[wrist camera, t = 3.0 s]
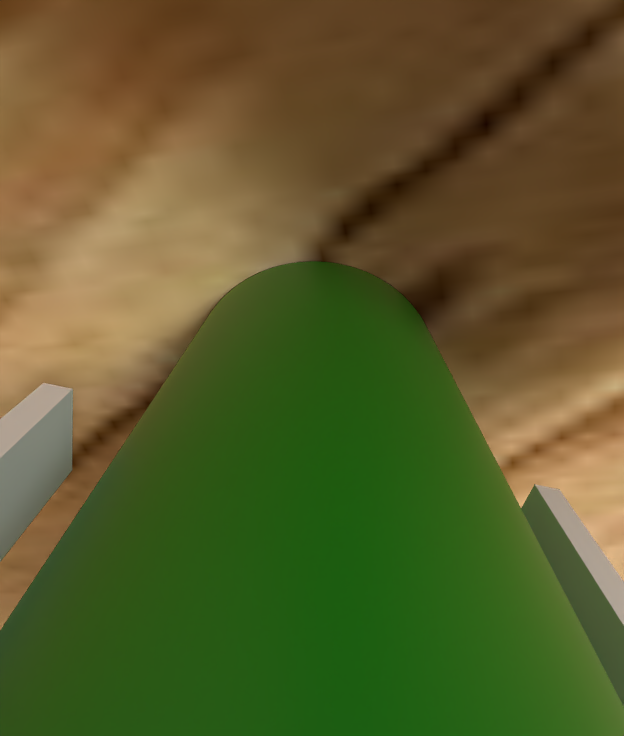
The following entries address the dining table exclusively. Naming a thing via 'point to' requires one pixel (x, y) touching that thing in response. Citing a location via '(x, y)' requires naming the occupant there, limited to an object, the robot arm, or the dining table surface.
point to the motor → (303, 549)
